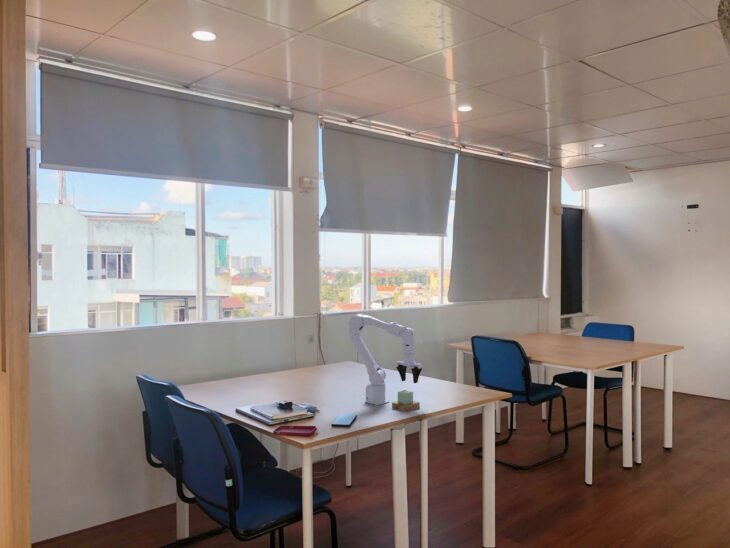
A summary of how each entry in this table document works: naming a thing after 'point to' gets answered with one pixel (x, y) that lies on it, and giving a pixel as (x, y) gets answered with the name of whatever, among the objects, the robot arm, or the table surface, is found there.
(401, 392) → the green cube
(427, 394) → the table surface
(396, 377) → the table surface
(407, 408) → the walnut block
